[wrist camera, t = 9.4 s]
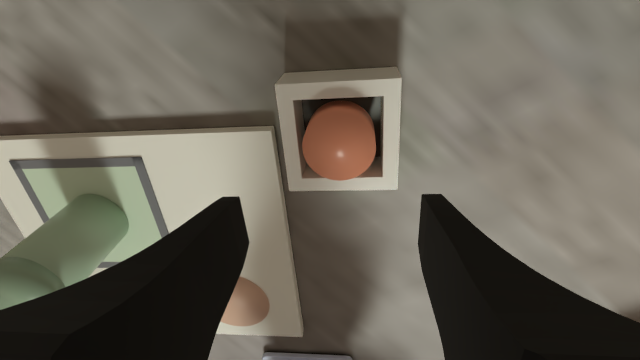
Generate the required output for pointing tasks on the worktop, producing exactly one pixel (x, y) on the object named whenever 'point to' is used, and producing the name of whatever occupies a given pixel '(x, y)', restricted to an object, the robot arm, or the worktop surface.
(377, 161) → the button housing
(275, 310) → the picture board
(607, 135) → the worktop surface
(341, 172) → the button
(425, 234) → the robot arm
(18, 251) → the sage marker
